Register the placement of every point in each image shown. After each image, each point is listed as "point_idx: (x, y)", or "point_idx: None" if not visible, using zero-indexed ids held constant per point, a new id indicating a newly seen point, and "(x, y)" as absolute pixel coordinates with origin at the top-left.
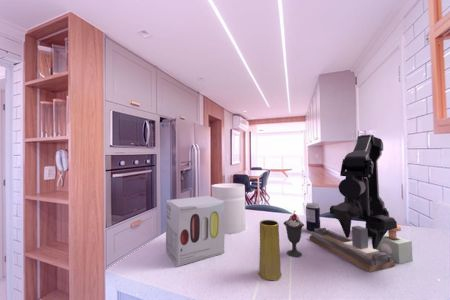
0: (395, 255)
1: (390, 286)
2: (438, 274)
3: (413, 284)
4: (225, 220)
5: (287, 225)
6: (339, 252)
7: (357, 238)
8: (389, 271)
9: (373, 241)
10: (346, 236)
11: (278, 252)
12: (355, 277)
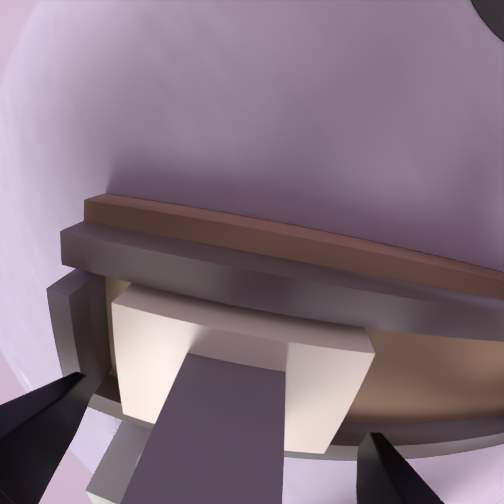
0: (127, 445)
1: (13, 160)
2: None
3: (5, 273)
4: None
5: None
6: (361, 246)
7: (201, 432)
8: None
9: (25, 403)
10: (373, 437)
11: None
12: (114, 54)
